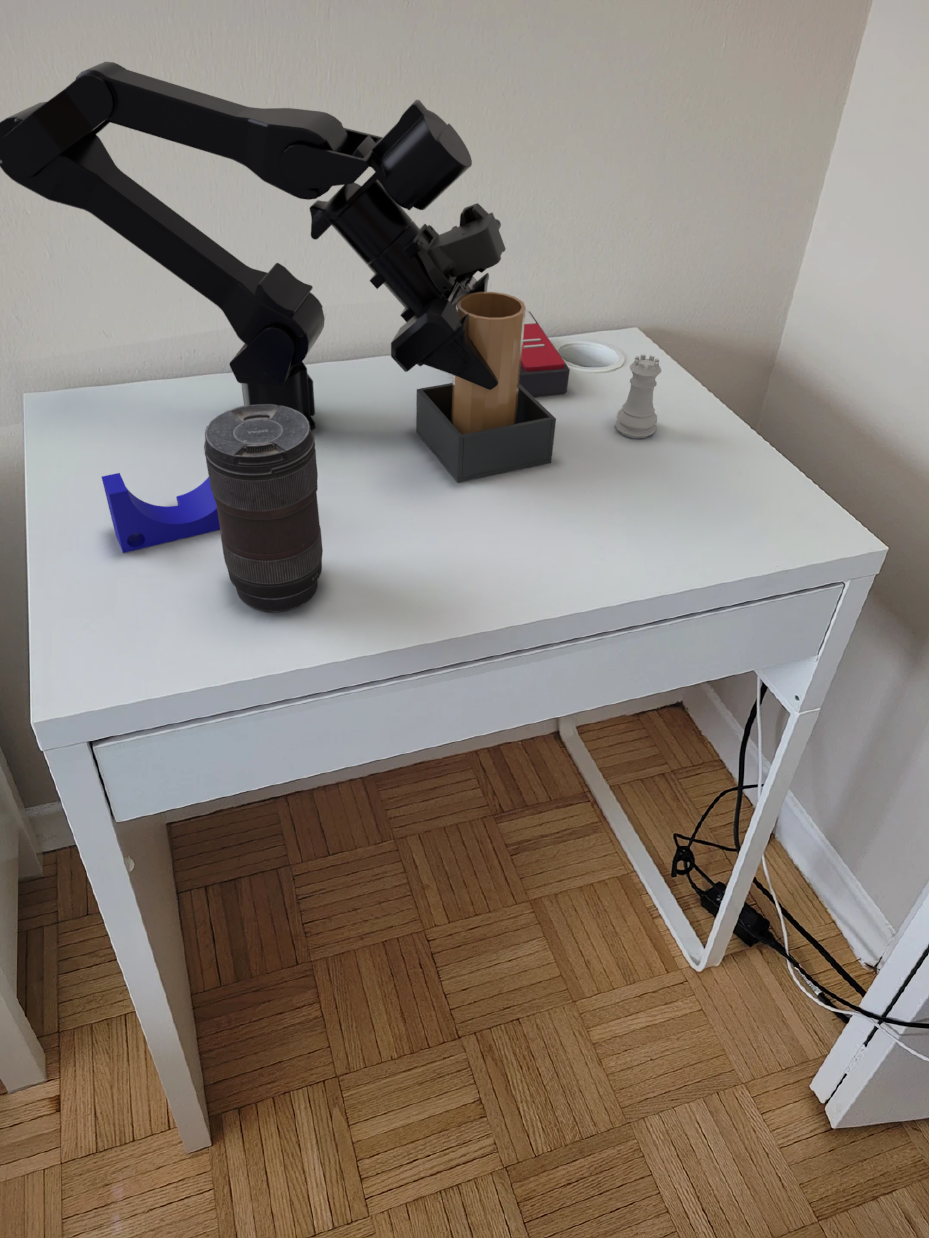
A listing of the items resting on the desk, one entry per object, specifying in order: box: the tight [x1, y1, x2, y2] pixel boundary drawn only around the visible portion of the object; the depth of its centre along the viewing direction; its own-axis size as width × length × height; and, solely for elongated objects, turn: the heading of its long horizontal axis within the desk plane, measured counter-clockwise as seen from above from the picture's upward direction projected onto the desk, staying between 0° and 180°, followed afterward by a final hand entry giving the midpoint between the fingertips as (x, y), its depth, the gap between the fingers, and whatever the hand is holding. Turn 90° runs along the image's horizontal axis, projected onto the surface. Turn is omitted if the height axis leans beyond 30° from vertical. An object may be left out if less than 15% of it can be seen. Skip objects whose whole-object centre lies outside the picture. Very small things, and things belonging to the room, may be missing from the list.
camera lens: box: [203, 404, 324, 613], centre depth 74 cm, size 8×8×15 cm
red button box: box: [519, 309, 570, 397], centre depth 111 cm, size 11×4×15 cm
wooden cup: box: [451, 291, 527, 435], centre depth 92 cm, size 6×6×13 cm
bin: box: [415, 382, 557, 483], centre depth 96 cm, size 10×10×5 cm
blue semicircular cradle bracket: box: [101, 472, 220, 554], centre depth 84 cm, size 12×4×6 cm, turn 118°
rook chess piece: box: [614, 354, 662, 439], centre depth 99 cm, size 4×4×8 cm
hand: (500, 371), depth 92 cm, fingers closed on wooden cup, 6 cm apart
